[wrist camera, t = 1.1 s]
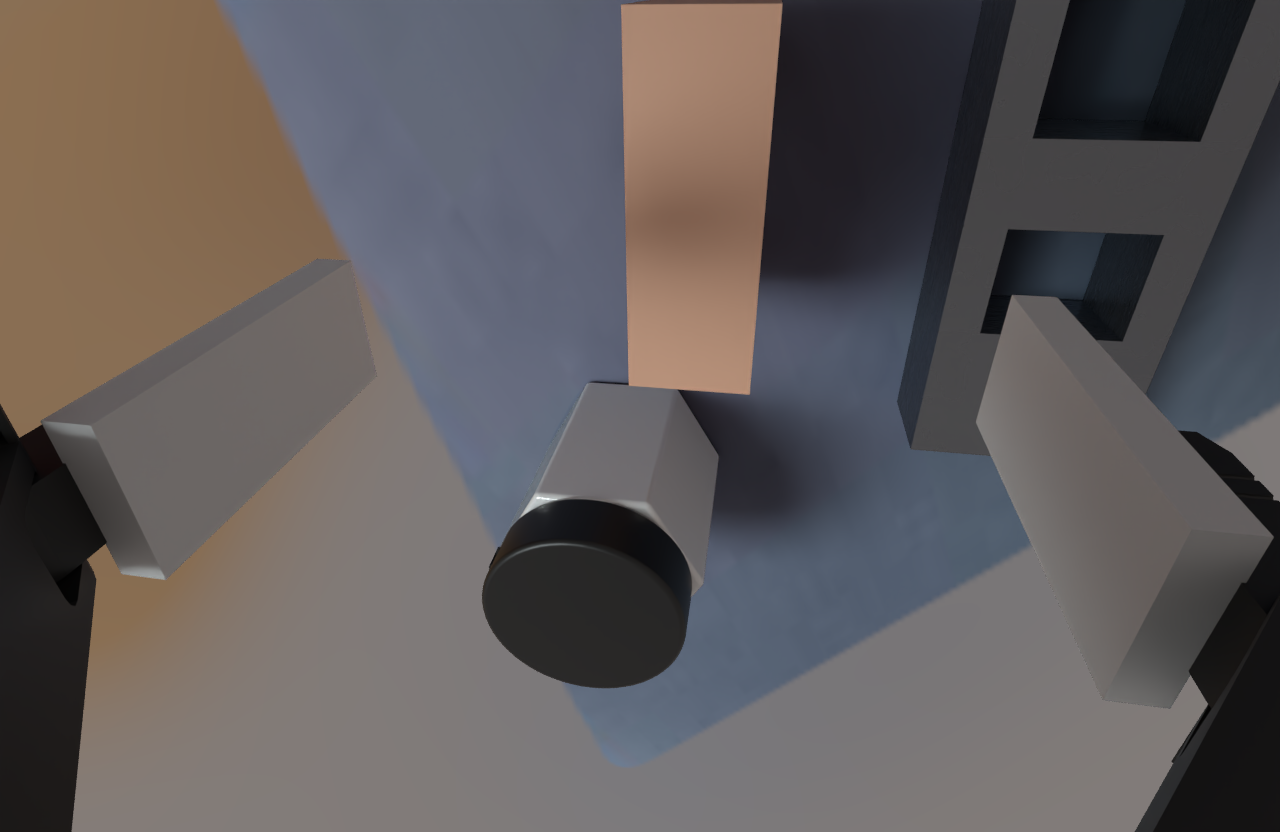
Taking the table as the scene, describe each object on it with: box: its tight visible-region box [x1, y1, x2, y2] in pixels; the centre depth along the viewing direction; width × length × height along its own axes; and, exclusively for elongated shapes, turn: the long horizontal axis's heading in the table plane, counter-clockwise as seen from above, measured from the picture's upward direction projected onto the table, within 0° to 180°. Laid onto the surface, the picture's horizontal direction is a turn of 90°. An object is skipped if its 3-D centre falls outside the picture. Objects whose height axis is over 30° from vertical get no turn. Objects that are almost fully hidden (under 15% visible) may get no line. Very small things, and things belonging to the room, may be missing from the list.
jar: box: [482, 383, 719, 688], centre depth 32 cm, size 9×8×12 cm
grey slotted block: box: [897, 0, 1280, 456], centre depth 25 cm, size 22×8×4 cm, turn 0°
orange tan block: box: [621, 0, 783, 395], centre depth 24 cm, size 11×4×10 cm, turn 0°
